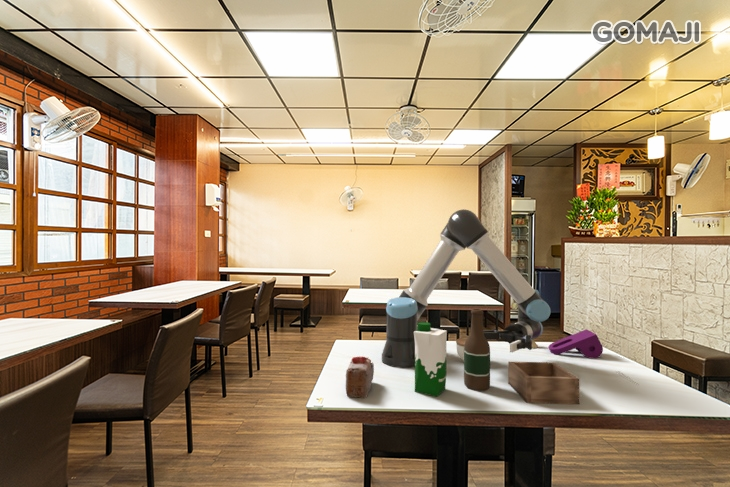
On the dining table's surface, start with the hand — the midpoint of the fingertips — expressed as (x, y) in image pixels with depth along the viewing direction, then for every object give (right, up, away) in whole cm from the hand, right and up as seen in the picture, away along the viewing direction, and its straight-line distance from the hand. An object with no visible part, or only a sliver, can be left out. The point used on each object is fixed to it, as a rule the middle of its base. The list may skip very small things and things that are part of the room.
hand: (490, 343), depth 118 cm
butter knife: (+47, -13, -3) cm, 48 cm away
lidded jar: (-1, -12, +20) cm, 23 cm away
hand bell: (+32, -13, +43) cm, 55 cm away
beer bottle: (-6, -12, -6) cm, 15 cm away
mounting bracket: (+45, -13, +31) cm, 57 cm away
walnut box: (+12, -12, -10) cm, 20 cm away
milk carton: (-21, -12, -9) cm, 26 cm away
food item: (-43, -12, -8) cm, 45 cm away
